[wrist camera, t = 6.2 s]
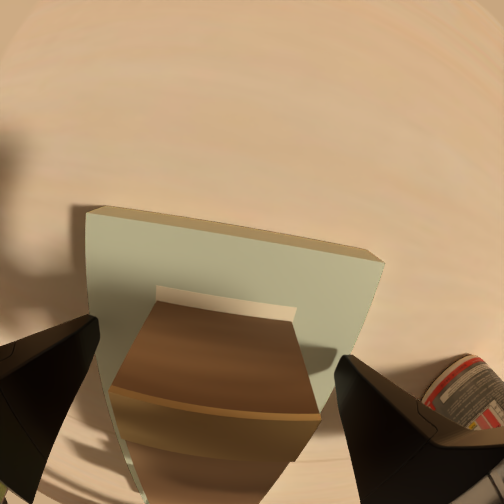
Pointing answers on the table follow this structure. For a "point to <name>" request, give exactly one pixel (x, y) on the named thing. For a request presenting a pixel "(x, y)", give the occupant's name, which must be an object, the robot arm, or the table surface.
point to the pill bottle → (468, 394)
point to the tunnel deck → (223, 286)
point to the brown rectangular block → (212, 405)
